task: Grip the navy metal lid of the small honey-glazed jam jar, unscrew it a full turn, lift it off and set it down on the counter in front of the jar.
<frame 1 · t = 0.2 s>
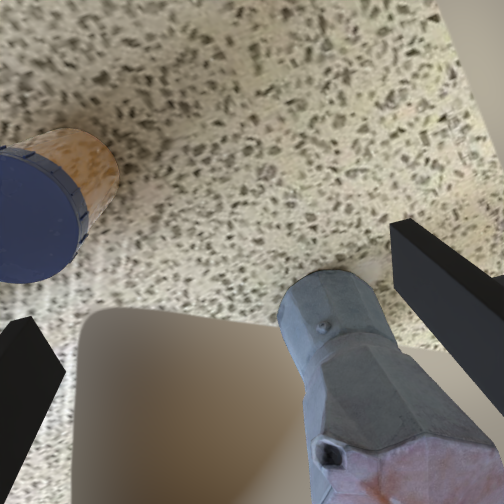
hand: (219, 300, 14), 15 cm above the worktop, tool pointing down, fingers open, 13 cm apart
jam lid: (9, 220, 18), point 9 cm above the worktop, screwed on, not yet turned
jam jar: (75, 172, 26), on the worktop
moka pot: (329, 310, 34), on the worktop
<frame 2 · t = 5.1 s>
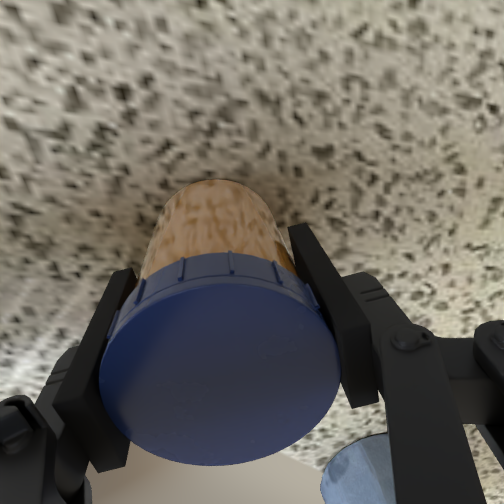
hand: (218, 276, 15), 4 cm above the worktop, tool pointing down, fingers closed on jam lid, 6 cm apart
jam lid: (223, 376, 10), point 9 cm above the worktop, screwed on, not yet turned, touching gripper
jam jar: (216, 237, 19), on the worktop
moka pot: (379, 470, 29), on the worktop
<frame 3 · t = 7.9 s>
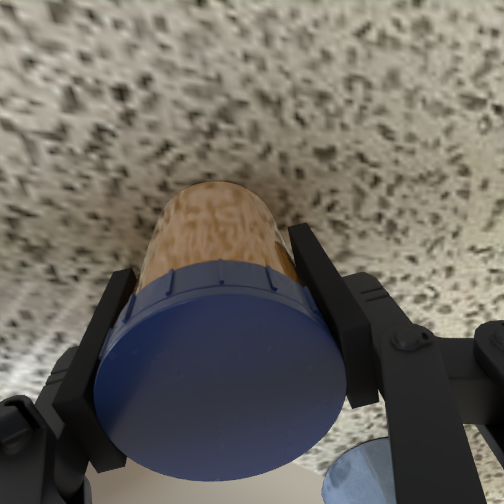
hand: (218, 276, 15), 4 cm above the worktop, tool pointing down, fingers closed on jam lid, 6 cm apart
jam lid: (224, 389, 10), point 10 cm above the worktop, turned 95° so far, risen 0.1 cm, still on its thread, touching gripper
jam jar: (216, 240, 18), on the worktop
moka pot: (380, 474, 29), on the worktop
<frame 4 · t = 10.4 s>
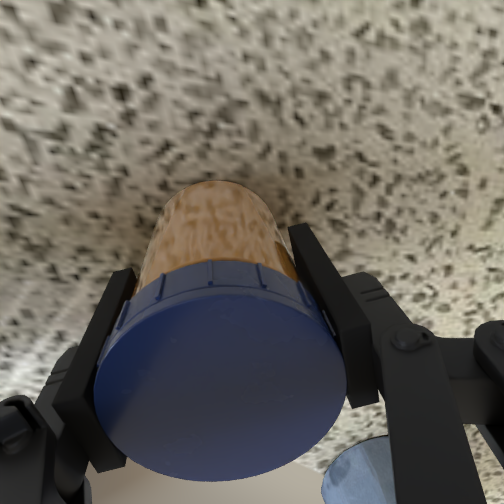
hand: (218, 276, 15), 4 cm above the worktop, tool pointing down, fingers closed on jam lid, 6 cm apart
jam lid: (224, 390, 10), point 10 cm above the worktop, turned 189° so far, risen 0.3 cm, still on its thread, touching gripper
jam jar: (216, 239, 19), on the worktop
moka pot: (380, 473, 29), on the worktop
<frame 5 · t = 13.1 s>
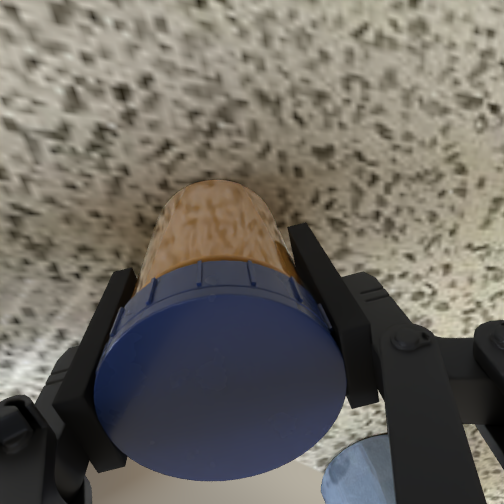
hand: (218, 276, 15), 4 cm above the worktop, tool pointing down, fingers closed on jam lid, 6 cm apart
jam lid: (224, 389, 10), point 10 cm above the worktop, turned 284° so far, risen 0.4 cm, still on its thread, touching gripper
jam jar: (216, 238, 19), on the worktop
moka pot: (379, 471, 29), on the worktop
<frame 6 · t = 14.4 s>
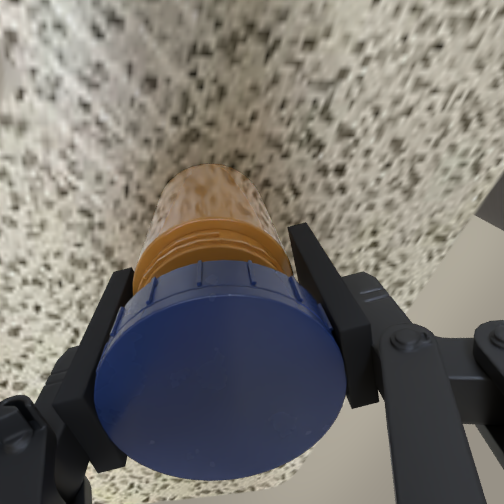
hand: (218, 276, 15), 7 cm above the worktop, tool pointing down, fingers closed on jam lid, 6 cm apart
jam lid: (224, 389, 10), point 13 cm above the worktop, off its thread, touching gripper
jam jar: (211, 216, 21), on the worktop, touching gripper
when the fingers open (1 cm above the worktop, at t = 21.6 s): jam lid drops 6 cm, point 1 cm above the worktop.
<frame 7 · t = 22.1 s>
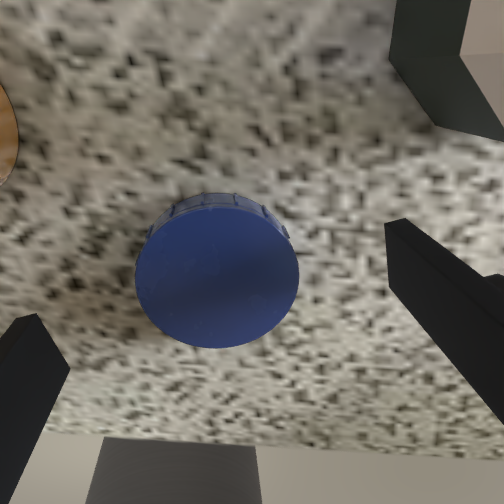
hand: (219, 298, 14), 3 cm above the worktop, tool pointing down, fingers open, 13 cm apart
jam lid: (218, 279, 15), point 1 cm above the worktop, off its thread
wine bottle: (499, 8, 13), on the worktop
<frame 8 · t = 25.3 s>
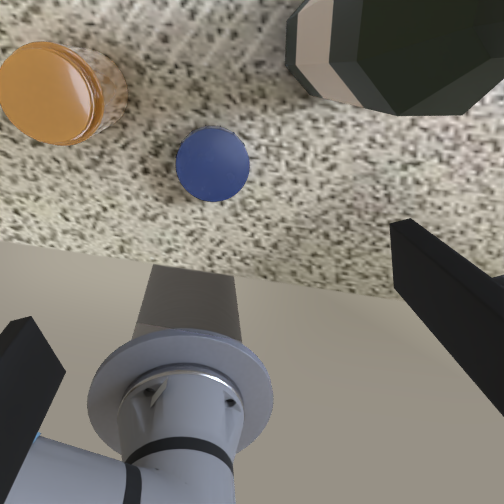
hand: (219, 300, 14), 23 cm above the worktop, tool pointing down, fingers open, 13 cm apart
jam lid: (213, 165, 33), point 1 cm above the worktop, off its thread
jam jar: (90, 90, 30), on the worktop
wine bottle: (331, 44, 31), on the worktop
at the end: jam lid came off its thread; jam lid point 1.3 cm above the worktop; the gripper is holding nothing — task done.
